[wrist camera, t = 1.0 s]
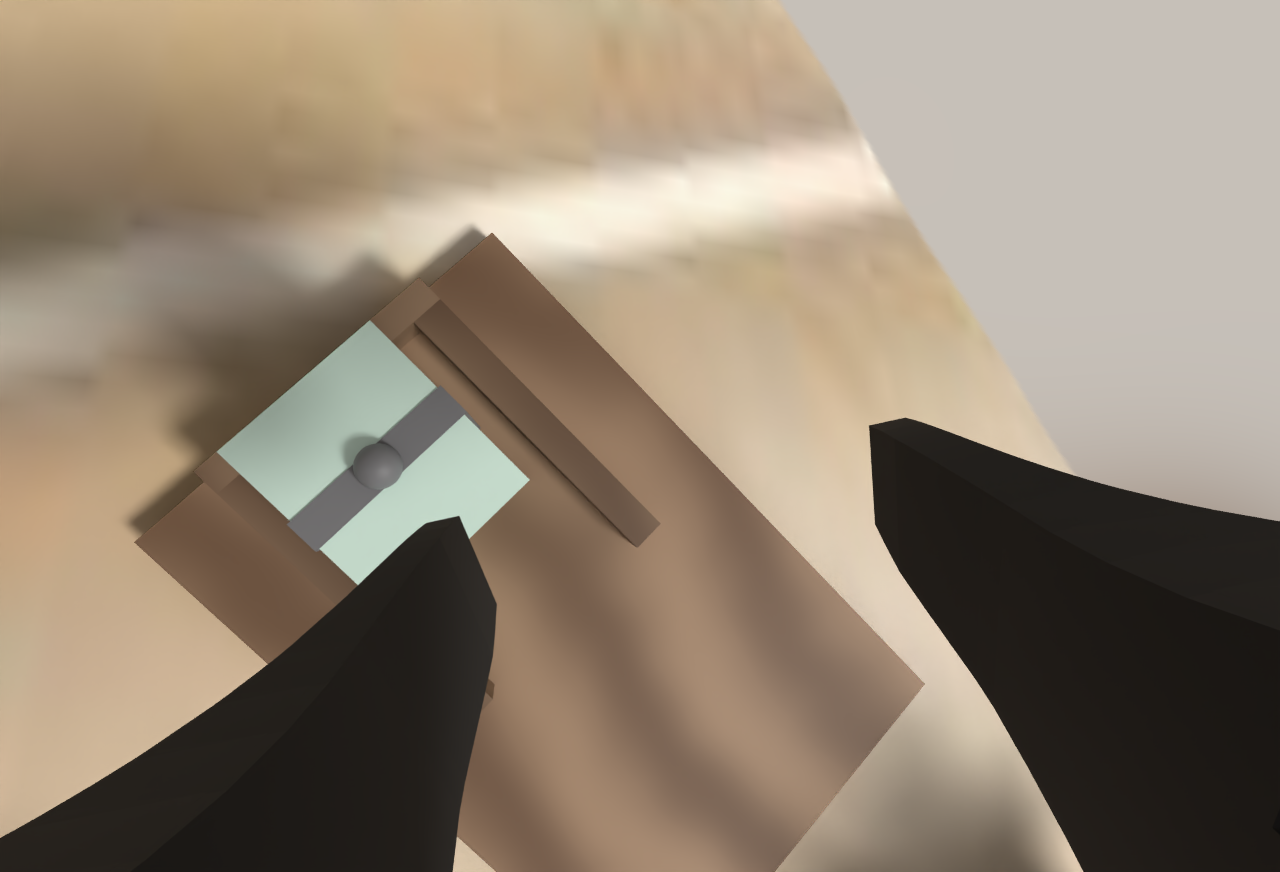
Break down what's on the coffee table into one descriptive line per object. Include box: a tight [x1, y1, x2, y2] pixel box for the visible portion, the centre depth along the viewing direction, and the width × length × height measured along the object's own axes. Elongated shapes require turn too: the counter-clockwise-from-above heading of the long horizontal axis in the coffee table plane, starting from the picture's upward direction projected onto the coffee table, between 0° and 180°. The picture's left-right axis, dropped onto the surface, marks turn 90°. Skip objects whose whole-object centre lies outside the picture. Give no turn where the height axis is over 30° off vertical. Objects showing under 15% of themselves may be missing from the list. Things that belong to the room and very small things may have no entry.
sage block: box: [217, 320, 529, 585], centre depth 19 cm, size 5×6×7 cm
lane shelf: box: [134, 233, 925, 872], centre depth 23 cm, size 16×25×2 cm, turn 45°
